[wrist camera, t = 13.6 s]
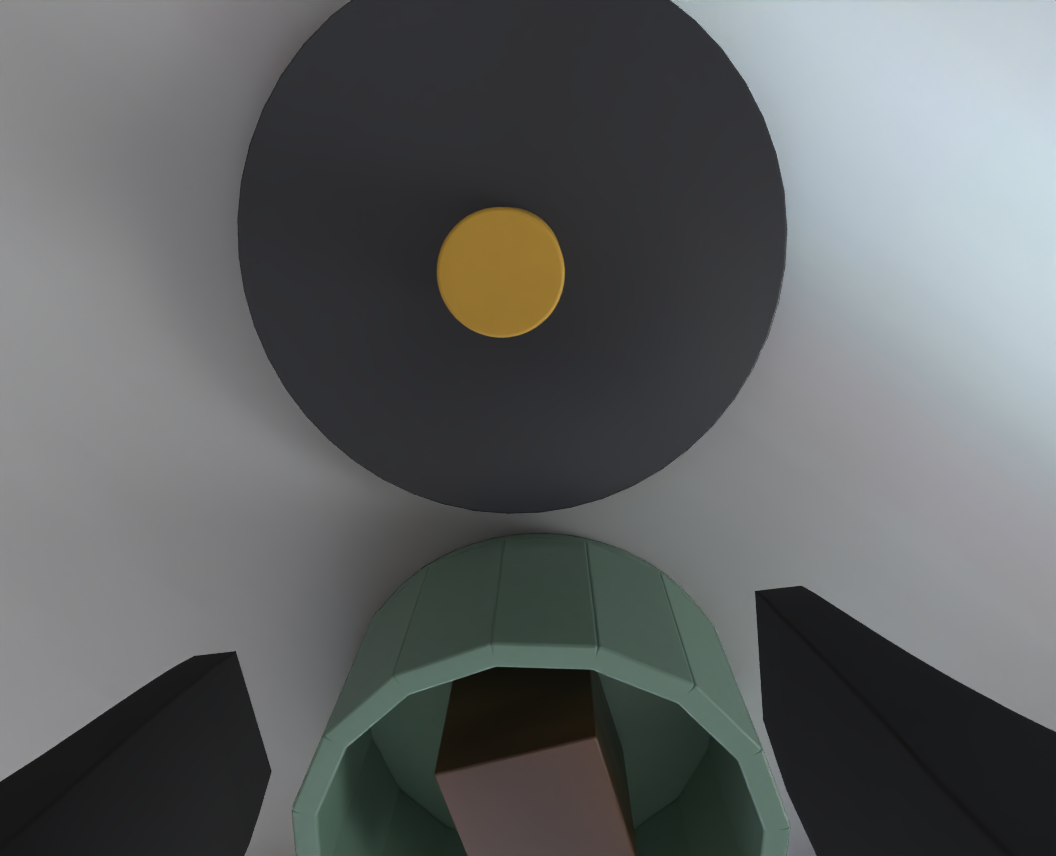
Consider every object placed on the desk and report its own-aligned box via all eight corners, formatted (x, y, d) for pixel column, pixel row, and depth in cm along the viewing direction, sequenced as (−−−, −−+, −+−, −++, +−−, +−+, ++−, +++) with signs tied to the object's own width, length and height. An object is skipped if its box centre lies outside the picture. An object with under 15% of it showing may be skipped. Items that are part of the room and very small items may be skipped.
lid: (805, -34, 16) (905, -128, 12) (745, 504, 20) (803, 591, 15) (229, -41, 16) (109, -135, 12) (276, 492, 20) (197, 574, 16)
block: (587, 638, 21) (596, 736, 17) (623, 751, 22) (640, 867, 18) (453, 671, 21) (432, 774, 17) (495, 781, 22) (484, 901, 18)
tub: (748, 538, 20) (818, 652, 15) (711, 858, 23) (758, 1044, 18) (343, 527, 20) (274, 636, 15) (362, 846, 24) (310, 1025, 18)
